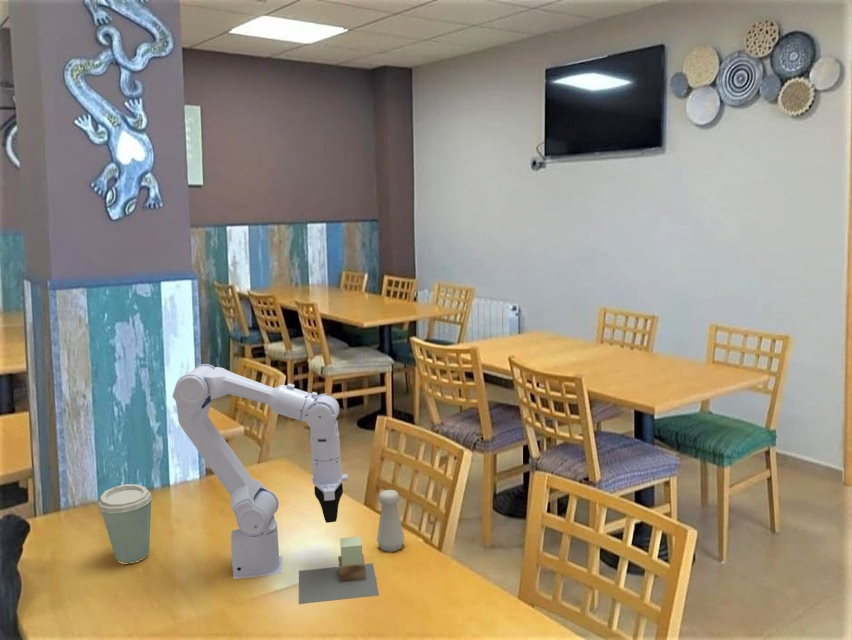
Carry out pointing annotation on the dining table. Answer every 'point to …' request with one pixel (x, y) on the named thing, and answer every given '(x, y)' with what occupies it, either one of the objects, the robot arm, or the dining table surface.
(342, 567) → the walnut block
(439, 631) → the dining table surface
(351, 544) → the sage block
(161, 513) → the dining table surface
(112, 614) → the dining table surface
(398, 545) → the salt shaker
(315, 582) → the slate mat
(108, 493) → the disposable coffee cup
